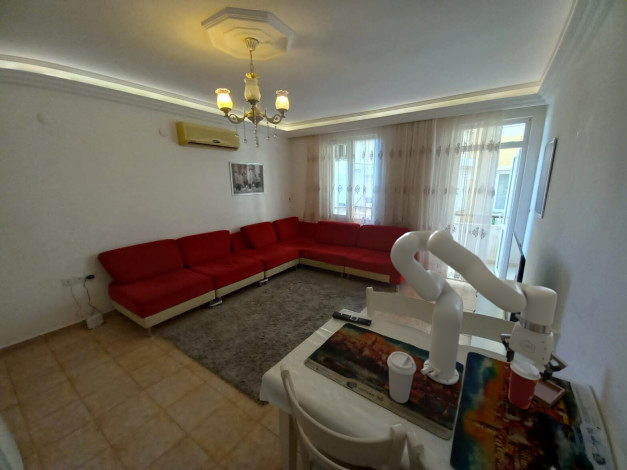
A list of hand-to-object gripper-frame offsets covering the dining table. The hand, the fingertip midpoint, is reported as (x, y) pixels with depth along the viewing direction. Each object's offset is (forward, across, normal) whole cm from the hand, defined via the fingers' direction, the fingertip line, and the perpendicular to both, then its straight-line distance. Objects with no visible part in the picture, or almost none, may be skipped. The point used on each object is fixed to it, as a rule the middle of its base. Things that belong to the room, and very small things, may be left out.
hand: (526, 370), depth 80 cm
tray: (+13, -1, +12) cm, 18 cm away
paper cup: (+13, -1, 0) cm, 13 cm away
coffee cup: (+13, -22, -35) cm, 43 cm away
